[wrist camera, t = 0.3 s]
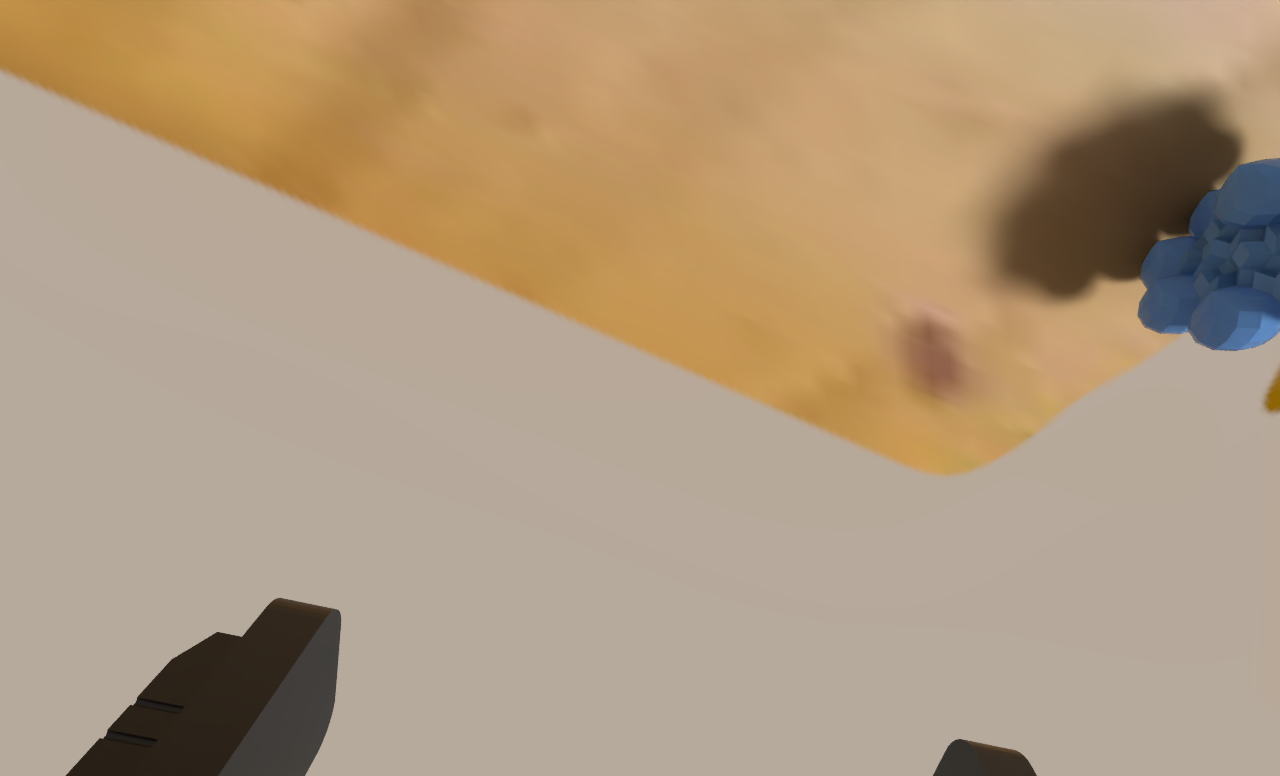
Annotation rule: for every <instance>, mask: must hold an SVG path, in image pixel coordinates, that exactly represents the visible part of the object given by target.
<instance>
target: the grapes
mask: <svg viewBox="0 0 1280 776" xmlns="http://www.w3.org/2000/svg"><path fill="white" fill-rule="evenodd" d="M1188 232H1189V233H1190V235H1191V236H1182V237H1176V238H1171V239H1166V240H1162V241H1159V242H1157V243H1156V244H1155V245H1154V246H1153V248H1152V249H1151V250H1150V252H1149V253H1148V255H1147V257H1146V258H1145V260H1144V262H1143V263H1142V267H1141V274H1140V279H1141V280H1142V282H1143V284H1144V285H1145V287H1146V288H1147V291H1146V292H1145V294H1144V296H1143V297H1142V299H1141V300H1140V302H1139V309H1138V317H1139V319H1140V321H1141V322H1142V324H1143V325H1144V327H1145V328H1148V329H1150V330H1153V331H1155V332H1157V333H1162V334H1182V333H1187V332H1189V333H1190V334H1191V336H1192V337H1193V339H1194V341H1195V342H1196V343H1198V344H1200V345H1203V346H1205V347H1207V348H1210V349H1212V350H1225V351H1237V350H1243V349H1249V348H1254V347H1257V346H1260V345H1262V344H1264V343H1266V342H1267V341H1269V340H1270V339H1272V338H1273V337H1275V336H1276V335H1277V334H1278V332H1279V331H1280V158H1275V159H1265V160H1259V161H1255V162H1250V163H1246V164H1241V165H1239V166H1238V167H1237V168H1236V169H1235V170H1234V171H1233V172H1232V173H1231V175H1230V176H1229V177H1228V178H1227V180H1226V181H1225V183H1224V184H1223V186H1222V188H1221V189H1219V190H1214V191H1210V192H1208V193H1207V194H1206V195H1205V197H1204V198H1203V199H1202V200H1201V201H1200V203H1199V204H1198V206H1197V207H1196V209H1195V211H1194V212H1193V214H1192V216H1191V217H1190V222H1189V229H1188Z"/></svg>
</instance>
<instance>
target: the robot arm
mask: <svg viewBox="0 0 1280 776" xmlns="http://www.w3.org/2000/svg"><path fill="white" fill-rule="evenodd" d="M340 630H341V614H340V612H339V610H337V609H332V608H327V607H322V606H317V605H312V604H307V603H302V602H298V601H293V600H288V599H283V598H277V599H275V600H273V601H272V602H271V603H270V604H269V605H268V606H267V607H266V608H265V609H264V611H263V612H262V613H261V615H260V616H259V617H258V618H257V619H256V620H255V622H254V623H253V624H252V625H251V627H250V628H249V629H248V630H247V631H246V633H245V634H244V635H243V636H242V637H240V636H235V635H230V634H225V633H220V632H217V633H215V634H213V635H212V636H210V637H208V638H207V639H205V640H203V641H202V642H200V643H199V644H197V645H195V646H193V647H192V648H190V649H188V650H187V651H185V652H183V653H182V654H180V655H178V656H177V657H175V658H174V659H172V660H171V661H170V662H169V663H168V664H167V665H166V666H165V667H164V669H163V670H162V671H161V672H160V673H159V674H158V675H157V676H156V677H155V678H154V679H153V681H152V682H151V683H150V684H149V685H148V686H147V687H146V688H145V689H144V690H143V692H142V693H141V694H140V695H139V696H138V697H137V701H136V703H135V704H134V705H130V706H129V707H128V708H127V709H126V710H125V711H124V712H123V714H122V715H121V716H120V717H119V718H118V719H117V720H116V721H115V722H114V723H113V724H112V725H111V727H110V728H109V729H108V731H107V734H106V736H105V737H104V739H101V738H100V739H99V740H98V741H97V742H96V743H95V744H94V745H93V746H92V747H91V748H90V750H89V751H88V752H87V753H86V754H85V755H84V756H83V757H82V758H81V760H80V761H79V762H78V763H77V764H76V765H75V766H74V767H73V768H72V769H71V770H70V771H69V773H68V774H67V775H66V776H305V775H306V773H307V771H308V769H309V767H310V765H311V764H312V762H313V760H314V758H315V756H316V754H317V753H318V750H319V748H320V746H321V744H322V742H323V739H324V737H325V734H326V732H327V729H328V726H329V723H330V719H331V716H332V712H333V707H334V702H335V692H336V680H337V667H338V655H339V643H340V642H339V641H340ZM933 776H1037V775H1036V773H1035V772H1034V770H1033V768H1032V766H1031V765H1030V763H1029V761H1028V760H1027V759H1026V758H1025V757H1024V756H1023V755H1022V754H1021V753H1020V752H1018V751H1015V750H1011V749H1006V748H1001V747H997V746H992V745H987V744H982V743H977V742H972V741H967V740H962V739H958V740H955V741H953V742H952V743H951V744H950V745H949V746H948V748H947V750H946V751H945V753H944V755H943V757H942V759H941V761H940V763H939V765H938V767H937V769H936V771H935V773H934V775H933Z"/></svg>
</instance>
